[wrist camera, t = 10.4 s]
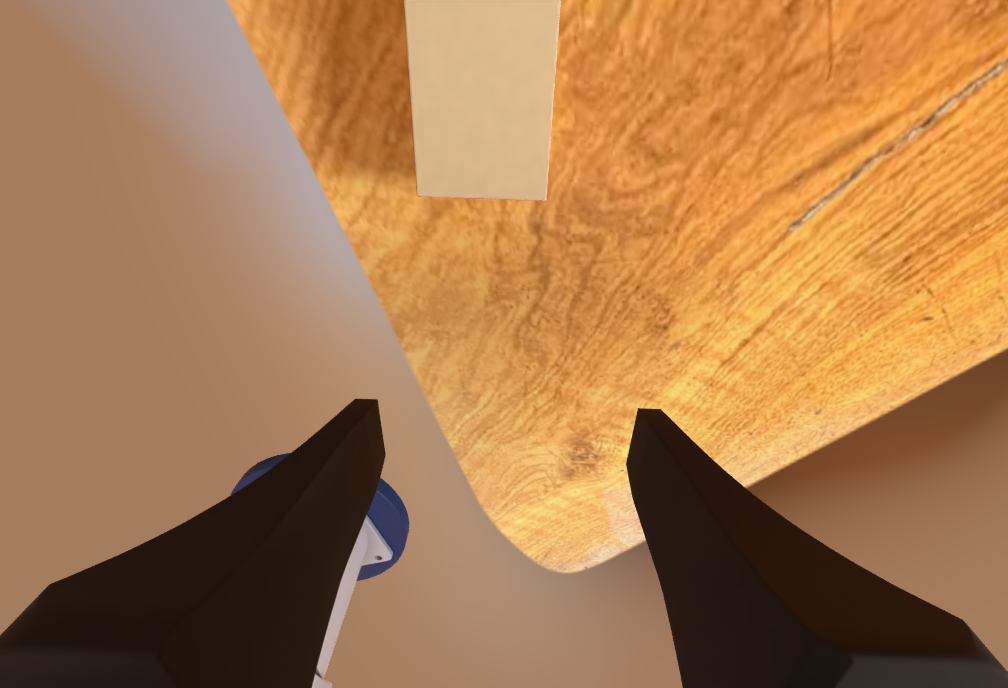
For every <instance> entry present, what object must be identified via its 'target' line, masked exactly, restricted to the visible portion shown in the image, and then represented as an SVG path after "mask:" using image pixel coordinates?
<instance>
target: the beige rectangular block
mask: <svg viewBox="0 0 1008 688" xmlns="http://www.w3.org/2000/svg"><path fill="white" fill-rule="evenodd" d="M560 4H561V0H404V12H405V26H406V41H407V56H408V70H409V85H410V100H411V114H412V129H413V144H414V158H415V173H416V188H417V195H418V196H419V197H446V198H476V199H505V200H535V201H545V200H546V199H547V185H548V171H549V157H550V143H551V129H552V115H553V101H554V88H555V74H556V60H557V46H558V32H559V18H560Z"/></svg>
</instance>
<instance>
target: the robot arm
mask: <svg viewBox="0 0 1008 688" xmlns="http://www.w3.org/2000/svg"><path fill="white" fill-rule="evenodd" d="M384 459H385V448H384V442H383V434H382V427H381V421H380V414H379V407H378V400H376V399H355V400H354V401H352V402H351V403H350V404H349V405H348V406H346V407H345V408H344V409H343V410H342V411H341V412H340V413H339V414H337V416H335V417H334V418H333V419H332V420H330V421H329V422H328V423H327V424H326V425H325V426H324V427H322V428H321V429H320V430H319V431H318V432H316V433H315V434H314V435H313V436H312V437H311V438H309V439H308V440H307V441H306V442H305V443H303V444H302V445H301V446H300V447H298V448H297V449H296V450H295V451H293V452H292V453H291V454H289V455H288V456H287V457H285V458H284V459H283V460H281V461H280V462H279V463H278V464H276V465H275V466H274V467H272V468H271V469H270V470H268V471H267V472H266V473H264V474H263V475H261V476H260V477H258V478H257V479H255V480H254V481H253V482H251V483H250V484H248V485H246V486H245V487H243V488H242V489H240V490H239V491H237V492H236V493H234V494H233V495H231V496H229V497H228V498H226V499H225V500H223V501H221V502H220V503H218V504H216V505H214V506H213V507H211V508H209V509H207V510H205V511H204V512H202V513H200V514H198V515H197V516H195V517H193V518H192V519H190V520H188V521H186V522H184V523H183V524H181V525H179V526H177V527H175V528H173V529H171V530H169V531H167V532H165V533H163V534H161V535H159V536H157V537H155V538H153V539H151V540H149V541H147V542H145V543H143V544H141V545H139V546H137V547H135V548H133V549H131V550H128V551H126V552H124V553H122V554H120V555H118V556H115V557H113V558H111V559H109V560H106V561H104V562H102V563H99V564H97V565H95V566H92V567H90V568H88V569H85V570H83V571H81V572H79V573H76V574H74V575H71V576H69V577H67V578H64V579H62V580H59V581H57V582H54V583H52V584H50V585H49V586H48V587H47V588H46V589H45V590H44V591H43V592H42V593H41V594H40V595H39V596H38V597H37V598H36V599H35V600H34V601H33V602H32V603H31V604H30V605H29V606H28V607H27V608H26V610H25V611H23V612H22V614H21V615H20V616H19V617H18V618H17V619H16V620H15V621H14V622H13V623H12V624H11V625H10V626H9V627H8V628H7V629H6V630H5V631H4V632H3V633H2V634H1V635H0V688H331V687H332V683H330V682H328V681H326V680H324V676H325V673H326V669H327V667H328V664H329V661H330V658H331V655H332V652H333V649H334V646H335V643H336V640H337V637H338V634H339V631H340V628H341V625H342V622H343V619H344V616H345V613H346V610H347V607H348V604H349V601H350V598H351V595H352V592H353V589H354V586H355V583H356V580H357V577H358V574H359V571H360V569H361V566H363V565H368V564H373V563H378V562H384V561H388V560H390V559H391V558H392V555H393V552H392V550H391V549H390V547H389V546H388V544H387V543H386V541H385V540H384V539H383V537H382V536H381V534H380V533H379V531H378V530H377V529H376V527H375V526H374V524H373V523H372V521H371V520H370V519H369V517H368V516H367V513H368V510H369V508H370V505H371V503H372V500H373V498H374V495H375V492H376V490H377V487H378V483H379V479H380V476H381V471H382V468H383V464H384ZM626 465H627V471H628V476H629V482H630V487H631V492H632V497H633V500H634V504H635V507H636V510H637V513H638V516H639V519H640V522H641V526H642V529H643V532H644V535H645V538H646V541H647V544H648V546H649V550H650V553H651V556H652V559H653V562H654V565H655V568H656V571H657V574H658V577H659V581H660V585H661V588H662V591H663V595H664V600H665V604H666V608H667V613H668V618H669V622H670V626H671V631H672V636H673V641H674V645H675V650H676V655H677V660H678V665H679V670H680V675H681V680H682V685H683V688H1008V672H1007V671H1006V670H1005V668H1004V667H1003V666H1002V665H1001V664H1000V663H999V661H998V660H997V659H996V658H995V657H994V656H993V654H992V653H991V652H990V651H989V650H988V649H987V647H985V645H984V644H983V643H982V642H981V641H980V639H979V638H978V637H977V636H976V635H975V633H974V632H973V631H972V630H971V629H970V628H969V626H968V625H967V624H966V623H965V622H964V621H963V620H962V619H960V618H958V617H956V616H954V615H952V614H950V613H948V612H946V611H944V610H942V609H940V608H938V607H936V606H934V605H932V604H930V603H928V602H926V601H924V600H922V599H920V598H918V597H916V596H914V595H912V594H910V593H908V592H906V591H904V590H902V589H900V588H898V587H897V586H894V585H893V584H891V583H889V582H887V581H885V580H884V579H882V578H880V577H878V576H877V575H875V574H873V573H871V572H869V571H868V570H866V569H864V568H862V567H861V566H859V565H857V564H855V563H854V562H852V561H850V560H849V559H847V558H845V557H844V556H842V555H840V554H839V553H837V552H835V551H834V550H832V549H830V548H829V547H827V546H826V545H824V544H823V543H821V542H820V541H818V540H817V539H815V538H813V537H812V536H810V535H809V534H807V533H806V532H804V531H802V530H801V529H800V528H798V527H797V526H795V525H794V524H792V523H791V522H789V521H788V520H787V519H785V518H784V517H782V516H781V515H780V514H778V513H777V512H776V511H774V510H773V509H772V508H770V507H769V506H767V505H766V504H765V503H764V502H762V501H761V500H760V499H758V498H757V497H756V496H754V495H753V494H752V493H751V492H749V491H748V490H747V489H746V488H745V487H743V486H742V485H741V484H740V483H739V482H737V481H736V480H735V479H734V478H733V477H732V476H730V475H729V474H728V473H727V472H726V471H725V470H723V469H722V468H721V467H720V466H719V465H718V464H717V463H716V462H715V461H713V460H712V459H711V458H710V457H709V456H708V455H707V454H706V453H705V452H704V451H703V450H702V449H701V448H700V447H699V446H698V445H697V444H695V443H694V442H693V441H692V440H691V439H690V438H689V437H688V436H687V435H686V434H685V433H684V432H683V431H682V430H681V429H680V428H679V427H678V426H677V425H676V424H675V423H674V422H673V421H672V420H671V419H670V418H669V417H668V416H667V415H666V414H665V413H664V412H663V411H662V410H661V409H640V408H638V411H637V416H636V421H635V425H634V430H633V435H632V439H631V444H630V449H629V453H628V458H627V463H626Z"/></svg>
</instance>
